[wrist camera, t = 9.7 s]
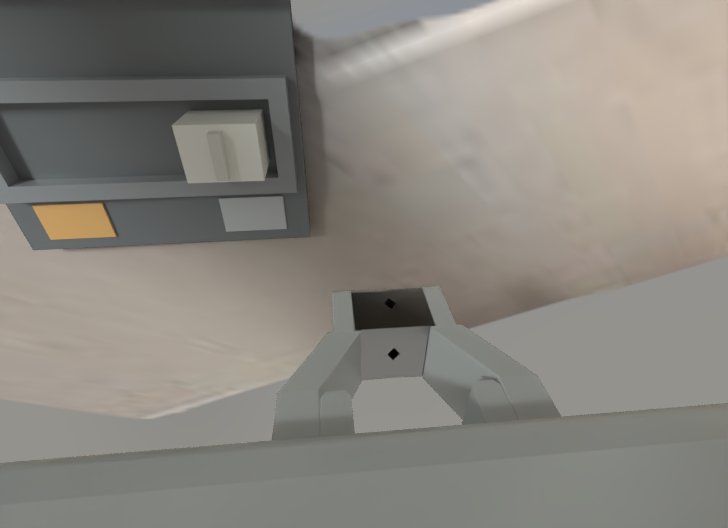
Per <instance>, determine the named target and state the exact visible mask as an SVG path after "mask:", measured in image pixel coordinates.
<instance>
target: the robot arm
mask: <svg viewBox="0 0 728 528" xmlns="http://www.w3.org/2000/svg"><path fill="white" fill-rule="evenodd" d="M332 310H333V332H329V333H327V334H326V336H325V337H324V338H323V339H322V340H321V342H320V343H319V344H318V345H317V346H316V348H315V349H314V350H313V351H312V352H311V354H310V355H309V356H308V357H307V358H306V360H305V361H304V362H303V363H302V364H301V366H300V367H299V368H298V369H297V370H296V372H295V373H294V374H293V375H292V376H291V378H290V379H289V380H288V381H287V383H286V384H285V385H284V386H283V387H282V389H281V390H280V391H279V392H278V393H277V401H276V409H275V418H274V426H273V434H272V440H271V441H259V442H247V443H235V444H223V445H212V446H199V447H186V448H174V449H162V450H150V451H138V452H126V453H114V454H102V455H89V456H77V457H66V458H53V459H42V460H29V461H17V462H5V463H0V528H728V403H723V404H710V405H698V406H687V407H674V408H662V409H649V410H638V411H625V412H613V413H600V414H590V415H589V414H588V415H576V416H564V417H561V415H560V413H559V412H558V410H557V408H556V406H555V405H554V403H553V401H552V400H551V398H550V397H549V395H548V393H547V391H546V389H545V388H544V386H543V384H542V383H541V381H540V379H539V378H538V376H537V375H536V374H534V373H533V372H531V371H530V370H528V369H527V368H526V367H524V366H523V365H521V364H519V363H518V362H517V361H515V360H513V359H512V358H511V357H509V356H508V355H506V354H505V353H503V352H502V351H500V350H499V349H497V348H496V347H494V346H493V345H491V344H490V343H488V342H487V341H485V340H484V339H482V338H481V337H479V336H478V335H477V334H475V333H474V332H472V331H471V330H469V329H468V328H466V327H465V326H463V325H456V322H455V320H454V318H453V315H452V313H451V311H450V309H449V306H448V304H447V302H446V299H445V297H444V295H443V293H442V290H441V288H440V287H439V286H428V287H420V288H404V289H379V290H351V292H350V290H349V291H332ZM415 376H423V378H424V380H426V382H427V383H428V384H429V385H430V386H431V387H432V388H433V389H434V390H435V391H436V392H437V393H438V394H439V395H440V396H441V397H442V398H443V399H444V400H445V402H446V403H447V404H448V405H449V406H450V407H451V408H452V409H453V410H454V411H455V412H456V413H457V414H458V415H459V416H460V417H461V419H462V420H463V421H462V425H454V426H442V427H430V428H418V429H405V430H394V431H381V432H369V433H357V434H355V432H354V421H353V410H352V398H353V396H354V394H355V392H356V391H357V389H358V387H359V385H360V383H361V380H370V379H381V378H392V377H415Z"/></svg>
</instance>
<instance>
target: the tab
mask: <svg viewBox="0 0 728 528" xmlns="http://www.w3.org/2000/svg"><path fill="white" fill-rule="evenodd" d="M172 129H173V132H174V136H175V139H176V143H177V146H178V150H179V154H180V157H181V161H182V164H183V168H184V171H185V175H186V179H187V182H188V183H215V182H243V181H264V180H265V177H266V173H267V170H268V166H269V163H270V159H269V152H268V145H267V138H266V131H265V124H264V117H263V109H245V110H190V111H187V112H186V113H185V114H184V115H183V116H182V117H181V118H179V119H178V120H177V121H176V122H175V123H174V124H173V125H172Z"/></svg>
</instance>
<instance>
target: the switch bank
mask: <svg viewBox="0 0 728 528" xmlns="http://www.w3.org/2000/svg"><path fill="white" fill-rule="evenodd" d="M245 109H263V117H264V124H265V131H266V138H267V145H268V152H269V159H270V163H269V166H268V170H267V173H266V177H265V180H264V181H243V182H215V183H188V182H187V179H186V175H185V171H184V168H183V164H182V161H181V157H180V154H179V150H178V146H177V143H176V139H175V136H174V132H173V129H172V125H173V124H174V123H175V122H176V121H177V120H178V119H179V118H181V117H182V116H183V115H184V114H185V113H186V112H187V111H190V110H245ZM0 204H6V205H7V207H8V209H9V210H10V212H11V214H12V215H13V217H14V219H15V220H16V222H17V224H18V225H19V227H20V229H21V230H22V232H23V234H24V236H25V237H26V239H27V241H28V242H29V244H30V246H31V247H32V249H33V250H47V249H68V248H89V247H109V246H130V245H151V244H172V243H192V242H213V241H234V240H254V239H275V238H296V237H310V220H309V209H308V197H307V186H306V174H305V163H304V152H303V140H302V129H301V117H300V106H299V94H298V83H297V71H296V60H295V48H294V37H293V26H292V14H291V3H290V0H0Z"/></svg>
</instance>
